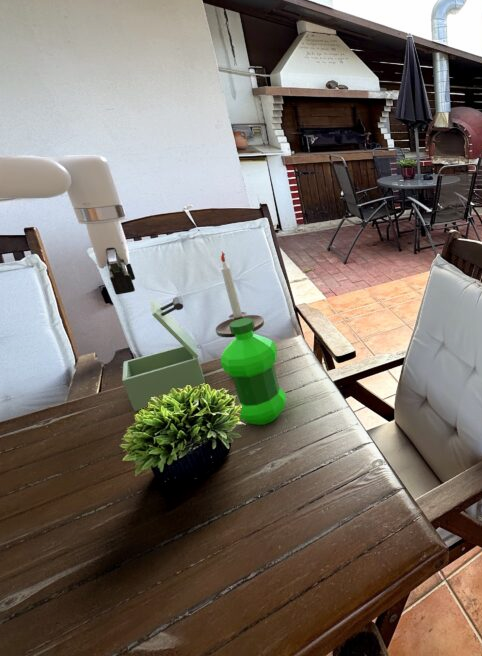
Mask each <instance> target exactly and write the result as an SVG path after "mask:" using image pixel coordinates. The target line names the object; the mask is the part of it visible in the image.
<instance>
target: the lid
mask: <svg viewBox="0 0 482 656" xmlns="http://www.w3.org/2000/svg"><path fill="white" fill-rule="evenodd" d="M150 306H151V307H150V308H151V315H152V316H153V318H155V319H156V320H157V322H158V323H160V324H161V325H162V327H164V328H165V330H166V331H167V332H168V333H169V334H171V335H172V336H173V338H174V339H176V341H177V342H179V344H180V345H181V346H184V347H185V348H186V349H187V350H188V351H189V352H190V353H191V354H192V355H193V356H194V357H195V358H197V357H198V358H199V352H198V347H197V345H196V341H195V339H194V338H193V337H192V336H191V335H190V334H189V333H188V332H187V331H186V330H185V328H183V327H182V325H180V323H179V322H178V321H177V320H176V319H175V318H174V317H173V316H172V315H171V314H170V313H173V311H181V310H183V308H184V303H183V299H182V297H179V296H176V297H174V298H172V301H171V302H169V303H167V304H164V305H163V306H162V305H161V304H160V302H158V300H156V298H153V299H151V300H150Z"/></svg>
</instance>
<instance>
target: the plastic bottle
mask: <svg viewBox="0 0 482 656" xmlns="http://www.w3.org/2000/svg"><path fill="white" fill-rule="evenodd" d="M229 327H230V330H231V333H232V334H234V335H235V337H234V339H233V340H232V341H230V343H229V344H228V345H227V346H226V347H225V348H224V350H223V352H222V354H221V357H220V365H221V368H222V370H223V371H224V373H226V374H228V375H229V376H231V377H232V379H233V383H234V387H235V390H236V395H237V397H238V400H239V401H238V404H237V406H238V405H239V404H241V405H242V410H241V415H240V417H239V418H240V419H241V420H242V421H244V422H246V423H247V424H250V425H256V426H261V425H266V424H269V423H271V422H273V421H274V420H276V419H277V418H278V416H279V415H280V414H281V413H282V412H283V411H284V410H285V407H286V402H287V394H286V392H285V391H284V390H283V388H281V387H280V386H279V381H278V376H277V373H276V368H275V363H276V361H277V357H278V348H277V345H276V343H275V342H274V341H273V340H272V339H270V338H267V337H265V336H262V335H259V334H256V333H254V332H253V331H252V330H254V327H255V326H254V322H253V319H251V318H242V319H238V320H235V321H233V322H231V323H230V325H229Z"/></svg>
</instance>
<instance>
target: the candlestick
mask: <svg viewBox="0 0 482 656" xmlns="http://www.w3.org/2000/svg"><path fill="white" fill-rule="evenodd" d="M225 255H226V254H225V253H224V251H221V256H220V260H221V262H222V267H221V268H220V270H221V274H222V278H223V281H224V282H223V283H224V286H225V289H226V294H227V297H228V301H229V304H230V308H231V312H232V313H231V314H230V315H229V316H228V318H229V319H227V320H224V321H223V322H221V323H219V324H218V325H217V326H216V327H215V334H216V335H217V336H218V337H220V338H236V337H235V335H234V334H232V333H231V330H230V327H229V325H230V323H231V322H233V321H235V320H238V319H242V318H251V319H253V322H254V326H255V327H254V330H252V331H253V333H254V332H257V331H258V330H260V329H261V328H262V327H263V326H264V325H265V321H264V317H263V316H261V315H256V314H247V312H245V311H242V310H241V305H240V302H239V298H238V293H237V291H236V286H235V282H234V278H233V274H232V270H231V267H230V266H228V265H227V262H226V257H225Z"/></svg>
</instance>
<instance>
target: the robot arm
mask: <svg viewBox="0 0 482 656" xmlns="http://www.w3.org/2000/svg"><path fill="white" fill-rule="evenodd" d="M65 193H67V195H68V198H69V200H70V203H71V206H72V209H73V211H74V214H75V217H76V219H77V222H78V224H80V225H85V226H86V230H87V234H88V238H89V241H90V244H91V247H92V250H93V253H94V256H95V260H96V263H97V266H98V268H100V269H105V267H107V269H108V273H109V276H110V277H109V280H110V282H111V285H112V288H113V291H114V294H116V295H123V294H128V293H134V292H135V291H136V289H135V286H134V283H133V281H134V280H135V279H136V276H135V273H134V270H133V267H132V263H130V251H129V246H128V242H127V239H126V235H125V232H124V229H123V226H122V223H121V221H122V220H125V219H127V216H126V211H125V209H124V207H123V203H122V199H121V197H120V195H119V191H118V189H117V185H116V181H115V179H114V175H113V172H112V169H111V166H110V164H109V162H108V160H107V158H106V157H104V156H102V155H99V154H68V155H62V156H40V155H39V156H38V155H27V154H26V155H24V154H23V155H22V154H21V155H0V199H52V198H56V197H59V196H62V195H63V194H65Z"/></svg>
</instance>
